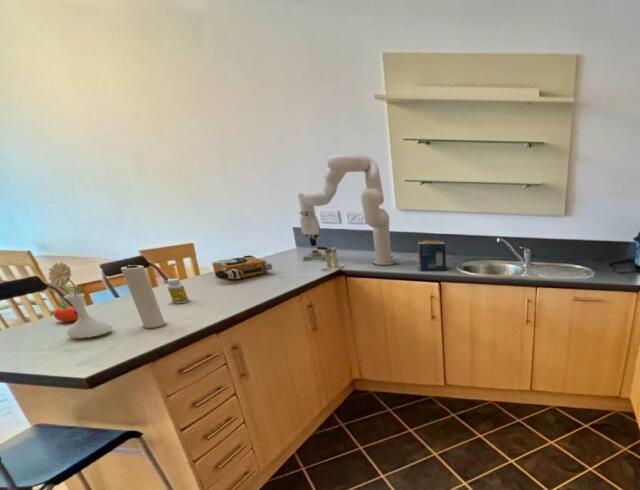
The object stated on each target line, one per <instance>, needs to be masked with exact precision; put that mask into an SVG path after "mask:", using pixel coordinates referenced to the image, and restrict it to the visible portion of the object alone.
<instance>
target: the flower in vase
mask: <svg viewBox="0 0 640 490" xmlns="http://www.w3.org/2000/svg"><path fill="white" fill-rule="evenodd" d="M48 270H49V272H48V275H49V276H48V280H49V281H50V284H51V285H52V286H53V287H54V286H56V288H62V289H64V290H66V291H69V292H72V294H67V295H64V296H63V298H64V299H65V300H67V301H68V302H69V303H70V304H71V305H72V307H74V308H75V309H76V311H77V314H78V320H76V321H74V323H72V325H71V326H70V327H69V329H68V330H67V332H66V335H67V336H68V337H70V338H73V339H88V338H95V337H99V336H103V335H106V334H107V333H109V332H111V331H112V330H113V326H112V325H111V324H110V323H108V322H106V321H103V320H100V319H97V318H94V317H93V316H90V315H89V313H88V312H87V310H86V307H85V305H84V297H85V293H84V291H83V290H82V288H81V287H80V286H79V285H78V286H76V285H75V283H74V282H73V281H72V280H71V277H72V273H71V267H70V266H69V265H68V264H66V263H64V262H62V261H60V262H59V263H57V262H55V263H54V264H53V265H52V267H50V268H48ZM69 282H70V283H71V284H72V286H73V287H74V288H73V287H70V286H68V285H66V284H68V283H69ZM101 334H102V335H101ZM97 335H98V336H97ZM92 336H93V337H92ZM85 337H87V338H85Z"/></svg>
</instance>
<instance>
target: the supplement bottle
mask: <svg viewBox="0 0 640 490" xmlns="http://www.w3.org/2000/svg"><path fill="white" fill-rule="evenodd" d="M166 281H167V290H168V293H169V295H170V299H171V301H172V303H173V304H184V303H188V302H189V297H188V295H187V291H186V290H185V287H184V285H183V283H181V281H180V279H179V278H177V277H176V278H168V279H167V280H166Z"/></svg>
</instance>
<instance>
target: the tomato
mask: <svg viewBox="0 0 640 490" xmlns="http://www.w3.org/2000/svg"><path fill="white" fill-rule="evenodd" d="M53 316H54V318H55V320H58V321H60V322H64V323H72V322H76V321H77V320H78V314H77V311H76V309H75V308H74V306H68V305H67V306H66V305H65V304H64V303H63V304H61V307H57V308H56V309H55V310H54V314H53Z"/></svg>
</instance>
